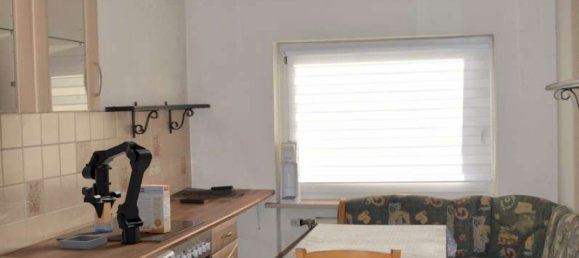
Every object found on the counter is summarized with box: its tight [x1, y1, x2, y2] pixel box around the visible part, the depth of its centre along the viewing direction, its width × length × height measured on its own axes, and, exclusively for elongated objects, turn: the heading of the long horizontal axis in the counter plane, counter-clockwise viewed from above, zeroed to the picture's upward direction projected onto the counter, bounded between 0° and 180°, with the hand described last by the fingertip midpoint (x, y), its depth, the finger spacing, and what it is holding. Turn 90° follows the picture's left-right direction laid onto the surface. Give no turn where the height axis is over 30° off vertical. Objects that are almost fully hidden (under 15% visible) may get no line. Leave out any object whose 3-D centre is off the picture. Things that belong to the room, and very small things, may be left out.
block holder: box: [59, 234, 108, 251], centre depth 284 cm, size 13×13×3 cm
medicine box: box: [93, 211, 114, 234], centre depth 318 cm, size 8×4×9 cm, turn 106°
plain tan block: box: [94, 202, 112, 223], centre depth 300 cm, size 4×4×8 cm
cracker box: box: [137, 184, 172, 234], centre depth 314 cm, size 14×6×21 cm, turn 68°
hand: (103, 217), depth 300 cm, fingers closed on plain tan block, 4 cm apart
